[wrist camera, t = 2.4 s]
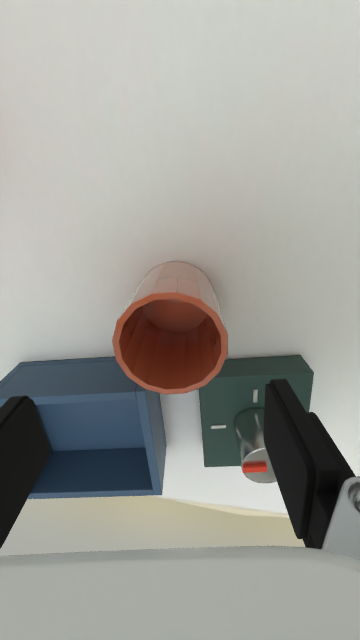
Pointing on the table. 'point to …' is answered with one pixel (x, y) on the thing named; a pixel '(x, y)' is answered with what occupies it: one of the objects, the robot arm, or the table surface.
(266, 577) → the robot arm
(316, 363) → the table surface
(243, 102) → the table surface
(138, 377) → the cup
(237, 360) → the green dial base
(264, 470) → the rotary dial knob
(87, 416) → the basin
